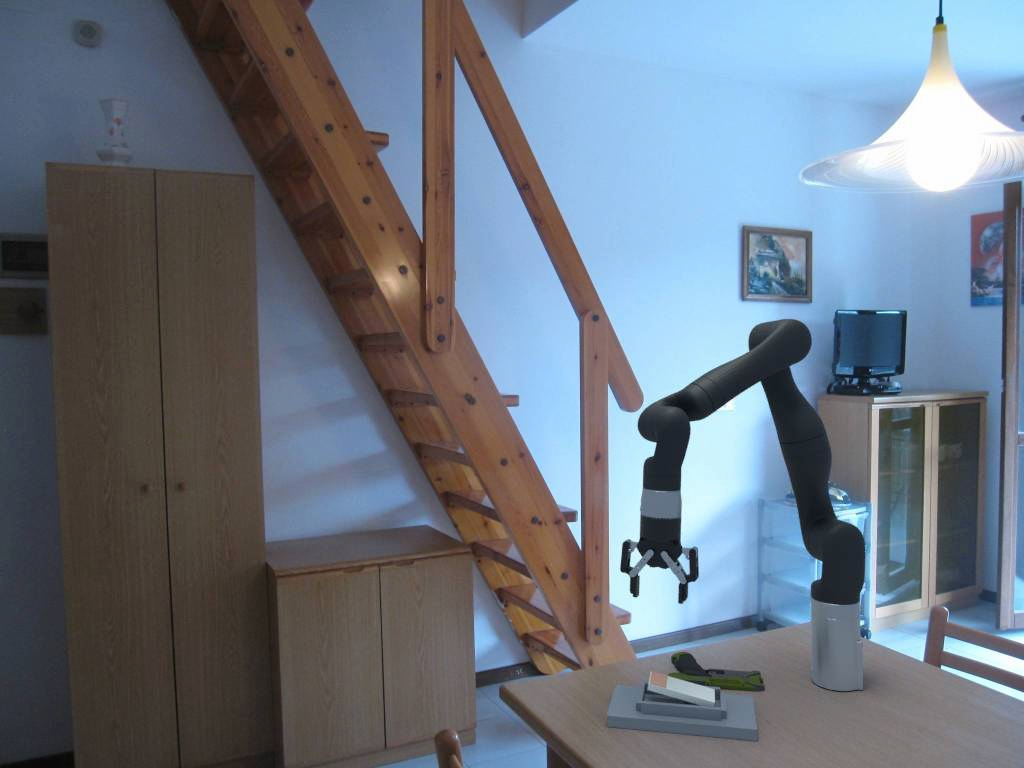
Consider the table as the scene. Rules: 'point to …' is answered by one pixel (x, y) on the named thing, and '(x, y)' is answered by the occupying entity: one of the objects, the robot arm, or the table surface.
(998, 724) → the table surface
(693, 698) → the rocker
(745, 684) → the gun
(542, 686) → the table surface
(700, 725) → the panel
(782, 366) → the robot arm
